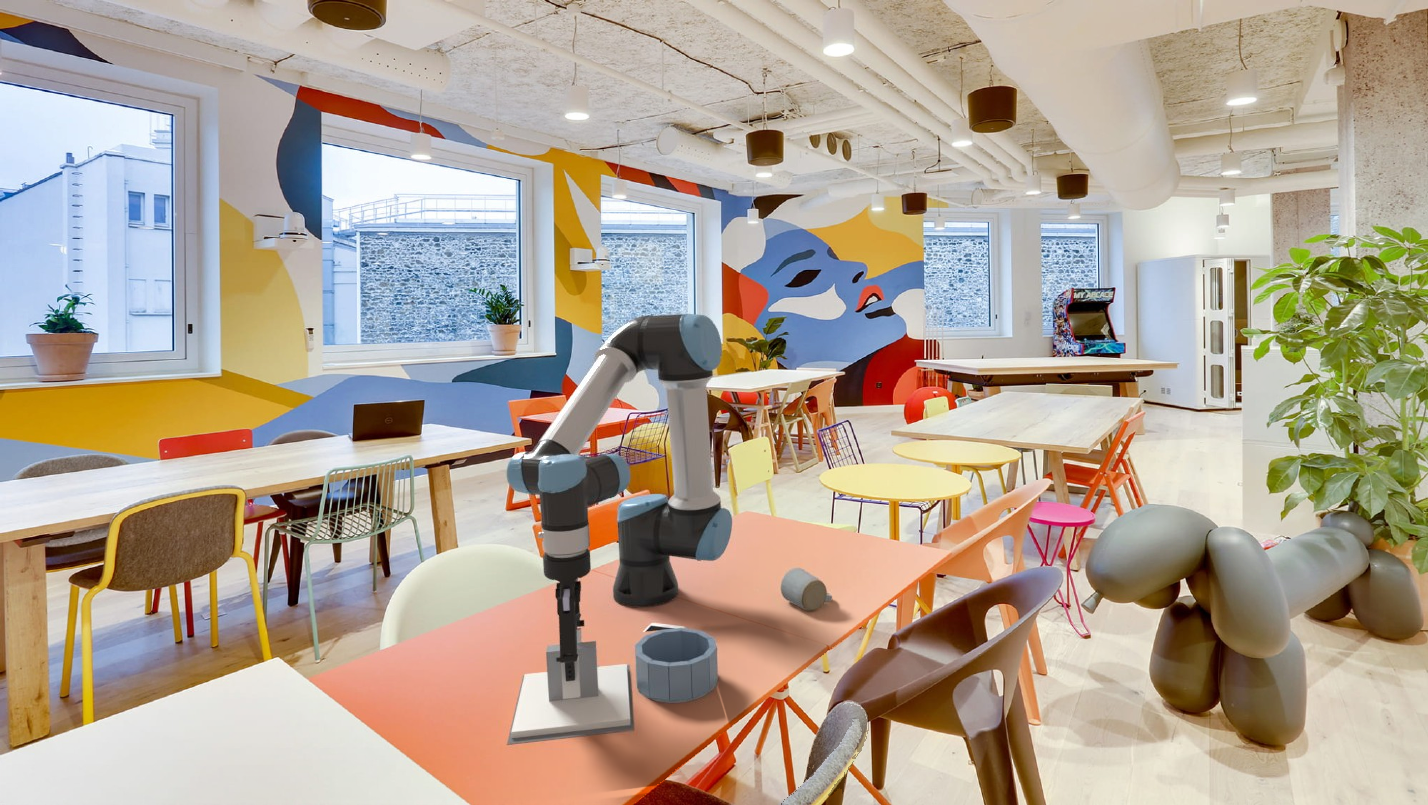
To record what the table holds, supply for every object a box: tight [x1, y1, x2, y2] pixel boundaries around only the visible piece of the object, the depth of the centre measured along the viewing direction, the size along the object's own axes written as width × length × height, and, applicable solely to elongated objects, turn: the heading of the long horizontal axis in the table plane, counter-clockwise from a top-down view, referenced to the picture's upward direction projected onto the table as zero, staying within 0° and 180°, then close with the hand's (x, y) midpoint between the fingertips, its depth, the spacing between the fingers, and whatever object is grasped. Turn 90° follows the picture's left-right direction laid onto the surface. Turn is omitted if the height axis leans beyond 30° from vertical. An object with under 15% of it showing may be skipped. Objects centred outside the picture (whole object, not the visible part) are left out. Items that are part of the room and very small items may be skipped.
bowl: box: [634, 627, 719, 704], centre depth 122 cm, size 14×14×7 cm
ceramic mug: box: [780, 567, 833, 612], centre depth 154 cm, size 11×8×8 cm
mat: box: [506, 664, 635, 746], centre depth 116 cm, size 21×19×1 cm
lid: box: [511, 640, 630, 738], centre depth 116 cm, size 18×18×10 cm
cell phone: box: [642, 622, 686, 633], centre depth 138 cm, size 8×16×1 cm, turn 161°
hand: (573, 680), depth 116 cm, fingers open, 10 cm apart
